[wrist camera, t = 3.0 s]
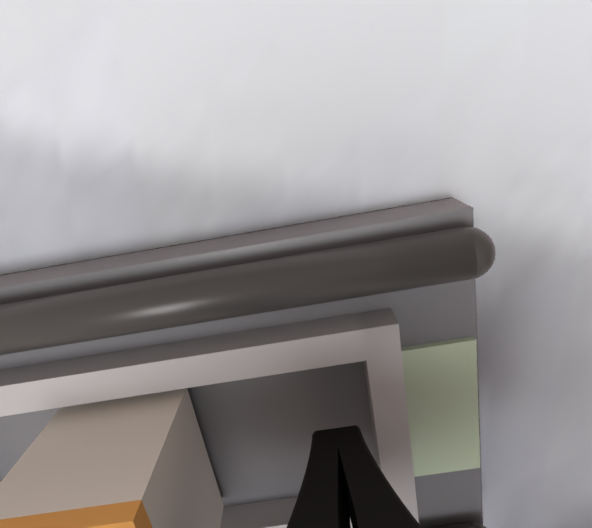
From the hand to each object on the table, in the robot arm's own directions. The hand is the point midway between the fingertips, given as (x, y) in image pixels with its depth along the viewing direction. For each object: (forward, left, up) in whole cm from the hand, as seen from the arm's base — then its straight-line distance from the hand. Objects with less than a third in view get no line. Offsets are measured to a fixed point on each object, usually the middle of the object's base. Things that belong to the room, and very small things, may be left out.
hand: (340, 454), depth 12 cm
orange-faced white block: (+6, 0, -1) cm, 6 cm away
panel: (+5, 0, -3) cm, 6 cm away
